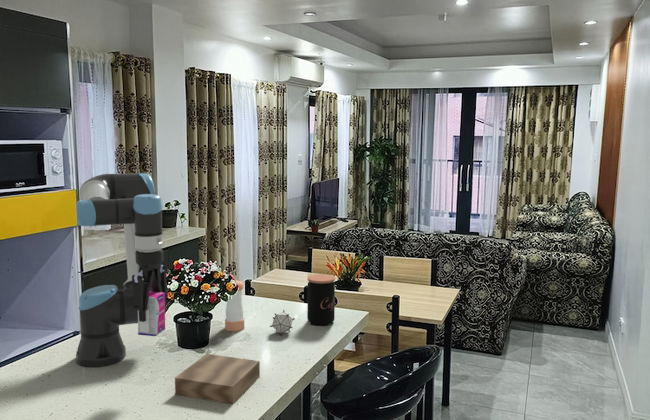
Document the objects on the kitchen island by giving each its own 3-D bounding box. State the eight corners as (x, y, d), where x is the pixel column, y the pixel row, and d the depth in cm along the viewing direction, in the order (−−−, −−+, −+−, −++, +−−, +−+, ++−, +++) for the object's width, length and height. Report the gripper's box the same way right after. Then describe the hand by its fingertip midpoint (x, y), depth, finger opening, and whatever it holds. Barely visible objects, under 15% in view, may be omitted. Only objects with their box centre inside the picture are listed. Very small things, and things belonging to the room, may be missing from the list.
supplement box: (156, 336, 156) (155, 297, 154) (137, 334, 157) (135, 296, 155) (166, 329, 161) (165, 291, 160) (148, 327, 163) (146, 290, 161)
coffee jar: (322, 328, 209) (322, 282, 207) (301, 322, 216) (301, 277, 214) (339, 321, 218) (340, 277, 215) (319, 315, 224) (319, 272, 222)
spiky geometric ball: (278, 343, 204) (262, 325, 200) (282, 328, 211) (267, 310, 208) (298, 335, 201) (282, 316, 197) (301, 320, 208) (286, 301, 205)
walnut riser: (175, 394, 156) (174, 377, 155) (206, 368, 173) (206, 353, 172) (233, 404, 150) (232, 386, 150) (259, 376, 168) (259, 361, 167)
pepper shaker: (248, 328, 209) (247, 279, 206) (231, 332, 204) (230, 282, 201) (238, 323, 214) (237, 275, 212) (221, 327, 210) (220, 278, 207)
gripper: (140, 257, 145) (143, 341, 149) (179, 243, 163) (181, 318, 167) (116, 255, 148) (119, 337, 151) (157, 241, 166) (159, 315, 169)
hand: (151, 327), depth 159 cm, fingers closed on supplement box, 6 cm apart
